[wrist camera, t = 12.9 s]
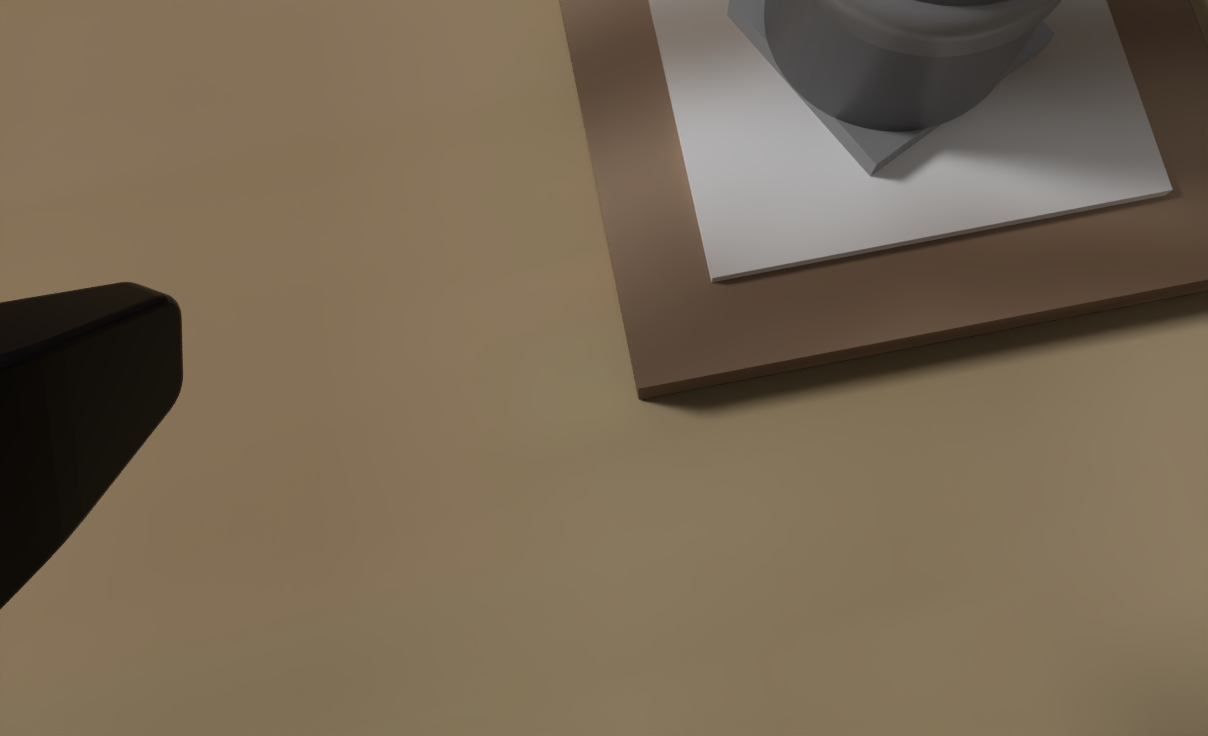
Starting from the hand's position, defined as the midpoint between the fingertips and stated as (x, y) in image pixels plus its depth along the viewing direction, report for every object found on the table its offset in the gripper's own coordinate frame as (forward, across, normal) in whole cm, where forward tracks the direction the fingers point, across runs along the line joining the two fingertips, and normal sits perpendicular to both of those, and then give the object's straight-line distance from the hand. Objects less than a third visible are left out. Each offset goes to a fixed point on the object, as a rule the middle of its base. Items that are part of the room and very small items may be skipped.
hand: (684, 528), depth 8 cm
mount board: (+19, -1, 0) cm, 19 cm away
